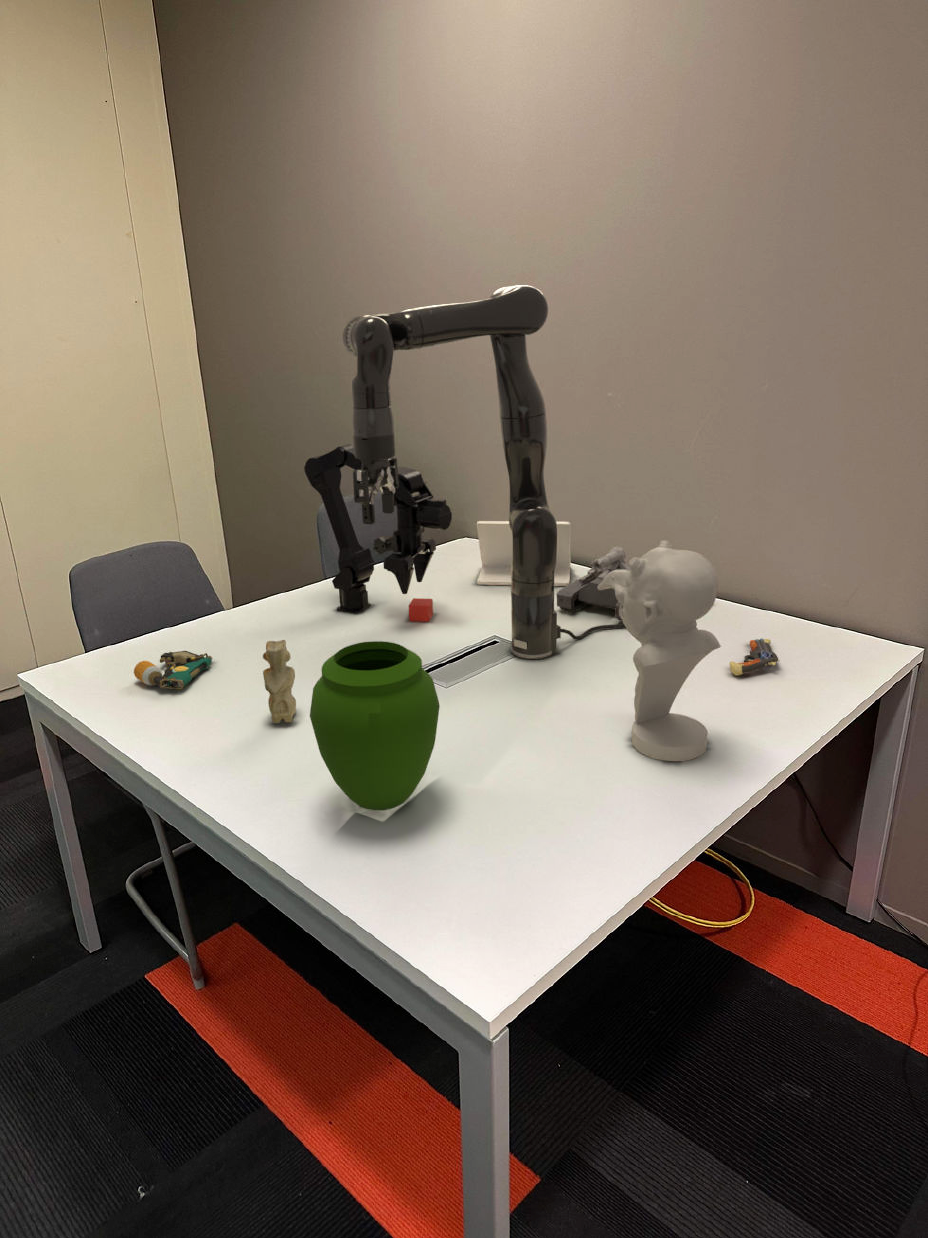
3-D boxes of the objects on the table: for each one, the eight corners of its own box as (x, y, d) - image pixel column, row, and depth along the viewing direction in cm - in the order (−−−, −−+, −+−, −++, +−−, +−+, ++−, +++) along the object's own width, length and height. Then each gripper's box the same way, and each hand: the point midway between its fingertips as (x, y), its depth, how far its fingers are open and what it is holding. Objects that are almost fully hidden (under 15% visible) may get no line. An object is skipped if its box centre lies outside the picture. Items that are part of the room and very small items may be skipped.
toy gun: (731, 666, 171) (784, 663, 169) (722, 637, 189) (769, 634, 187) (732, 679, 172) (784, 676, 170) (722, 649, 190) (770, 646, 188)
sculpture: (301, 708, 164) (294, 636, 159) (296, 726, 158) (288, 651, 152) (271, 709, 164) (262, 637, 159) (265, 727, 158) (255, 652, 152)
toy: (603, 584, 229) (605, 530, 224) (673, 597, 218) (677, 540, 213) (555, 612, 210) (556, 553, 205) (630, 627, 199) (633, 566, 194)
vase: (466, 785, 137) (462, 645, 128) (393, 849, 122) (383, 694, 113) (371, 755, 147) (361, 623, 138) (292, 810, 132) (275, 665, 123)
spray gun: (177, 659, 191) (231, 671, 185) (120, 684, 176) (176, 698, 171) (176, 641, 190) (230, 653, 184) (118, 665, 175) (174, 678, 169)
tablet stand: (569, 585, 229) (570, 524, 223) (476, 584, 232) (475, 523, 226) (570, 566, 246) (571, 508, 240) (484, 564, 249) (483, 507, 243)
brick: (433, 614, 212) (432, 598, 210) (428, 622, 207) (428, 605, 206) (414, 614, 212) (413, 598, 211) (409, 621, 208) (408, 605, 206)
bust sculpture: (641, 695, 165) (650, 519, 153) (732, 748, 145) (751, 550, 133) (573, 715, 158) (577, 532, 146) (659, 773, 138) (671, 567, 126)
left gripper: (393, 513, 211) (396, 573, 217) (360, 532, 195) (365, 597, 200) (435, 516, 207) (437, 577, 213) (405, 536, 191) (409, 601, 197)
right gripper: (372, 425, 164) (377, 508, 169) (336, 437, 151) (343, 526, 157) (407, 426, 161) (412, 510, 167) (374, 438, 149) (380, 528, 154)
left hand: (412, 587), depth 206 cm, fingers open, 9 cm apart
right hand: (379, 518), depth 162 cm, fingers open, 8 cm apart
